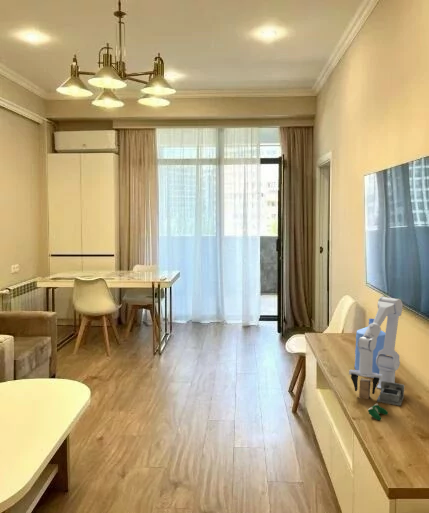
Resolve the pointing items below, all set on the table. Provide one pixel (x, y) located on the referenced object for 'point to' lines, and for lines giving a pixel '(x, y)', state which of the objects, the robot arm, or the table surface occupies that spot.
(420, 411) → the table surface
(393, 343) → the robot arm
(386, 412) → the gaming controller
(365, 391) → the brown rectangular block
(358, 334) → the water jug
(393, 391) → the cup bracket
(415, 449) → the table surface
